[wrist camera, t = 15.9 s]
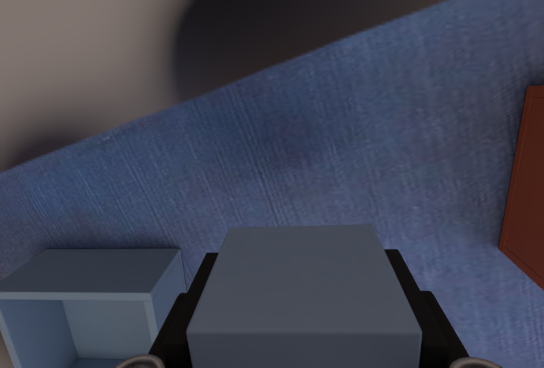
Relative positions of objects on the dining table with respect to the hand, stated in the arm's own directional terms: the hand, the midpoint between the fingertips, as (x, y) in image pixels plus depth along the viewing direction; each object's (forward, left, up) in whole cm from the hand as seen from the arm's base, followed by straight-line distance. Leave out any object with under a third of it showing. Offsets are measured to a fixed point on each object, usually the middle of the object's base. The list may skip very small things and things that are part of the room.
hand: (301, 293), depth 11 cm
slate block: (0, 0, 0) cm, 0 cm away
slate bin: (+11, -15, -13) cm, 23 cm away
